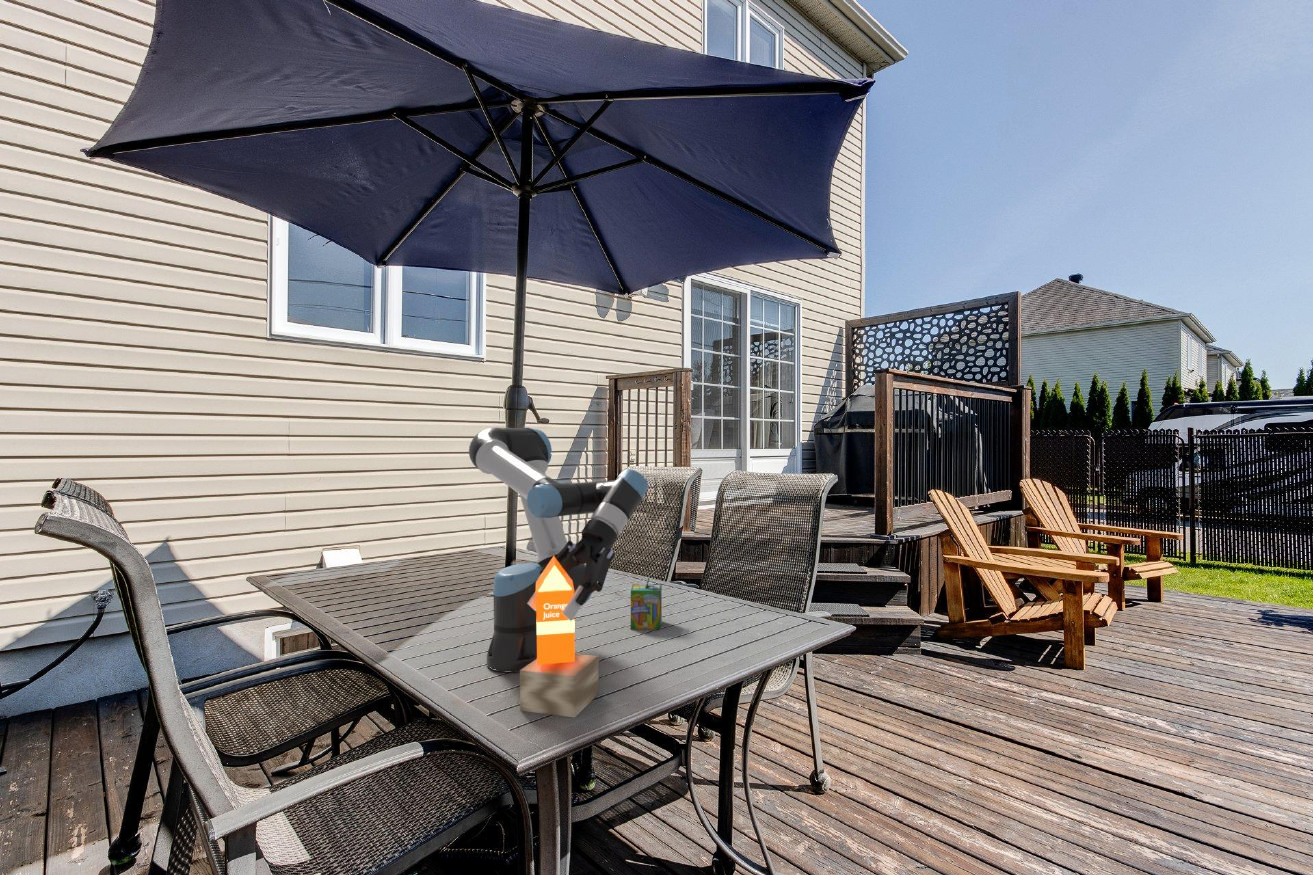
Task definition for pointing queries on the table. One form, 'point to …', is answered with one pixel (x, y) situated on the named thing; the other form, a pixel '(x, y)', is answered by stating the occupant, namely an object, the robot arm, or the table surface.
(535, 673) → the birch block
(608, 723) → the table surface
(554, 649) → the orange juice
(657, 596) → the chalk box
